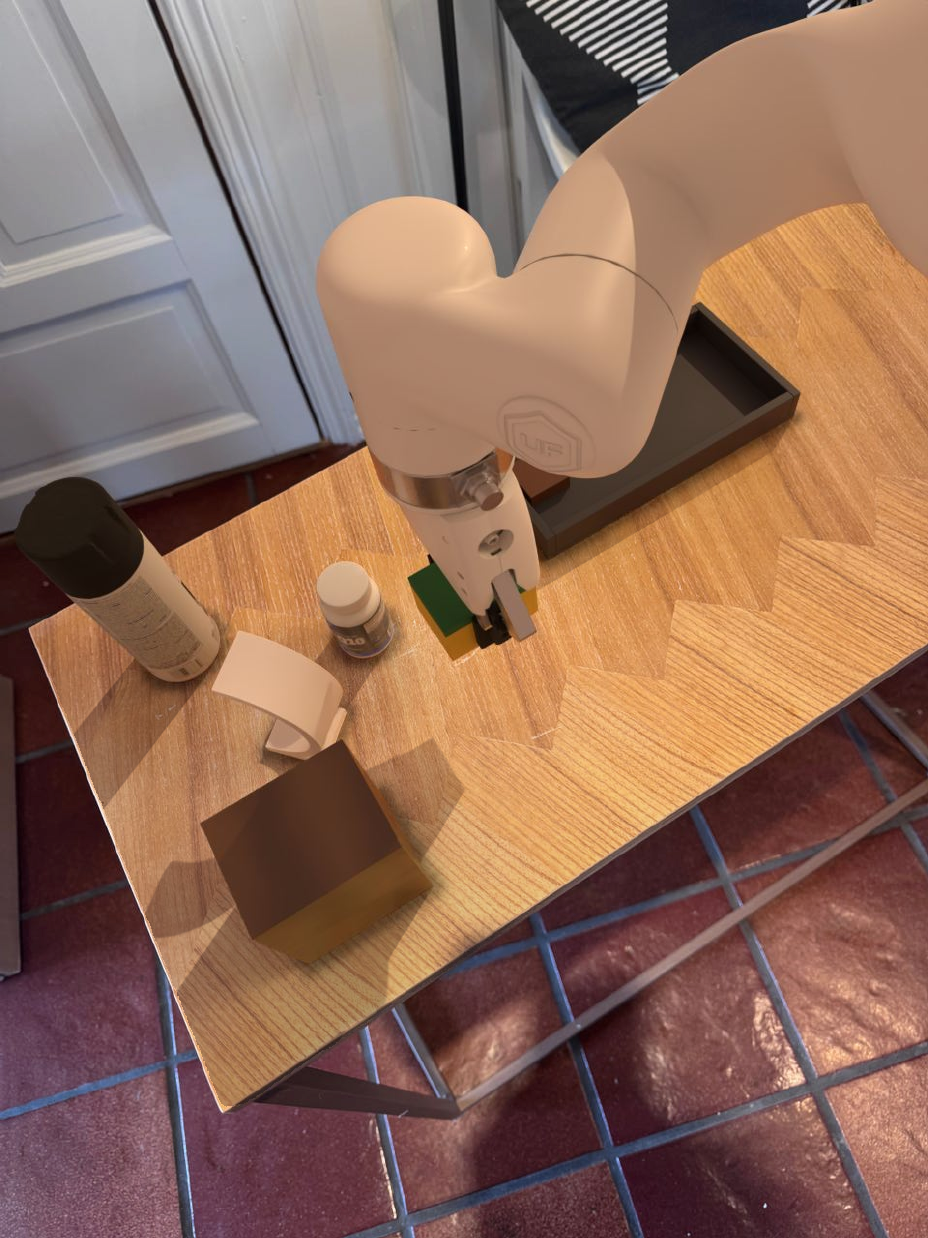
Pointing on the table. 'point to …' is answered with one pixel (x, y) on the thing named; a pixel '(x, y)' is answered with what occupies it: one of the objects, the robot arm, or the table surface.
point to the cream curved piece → (284, 694)
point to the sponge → (451, 609)
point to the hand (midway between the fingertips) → (477, 604)
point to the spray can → (117, 577)
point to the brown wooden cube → (314, 856)
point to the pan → (677, 432)
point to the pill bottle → (354, 609)
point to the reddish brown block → (538, 482)
